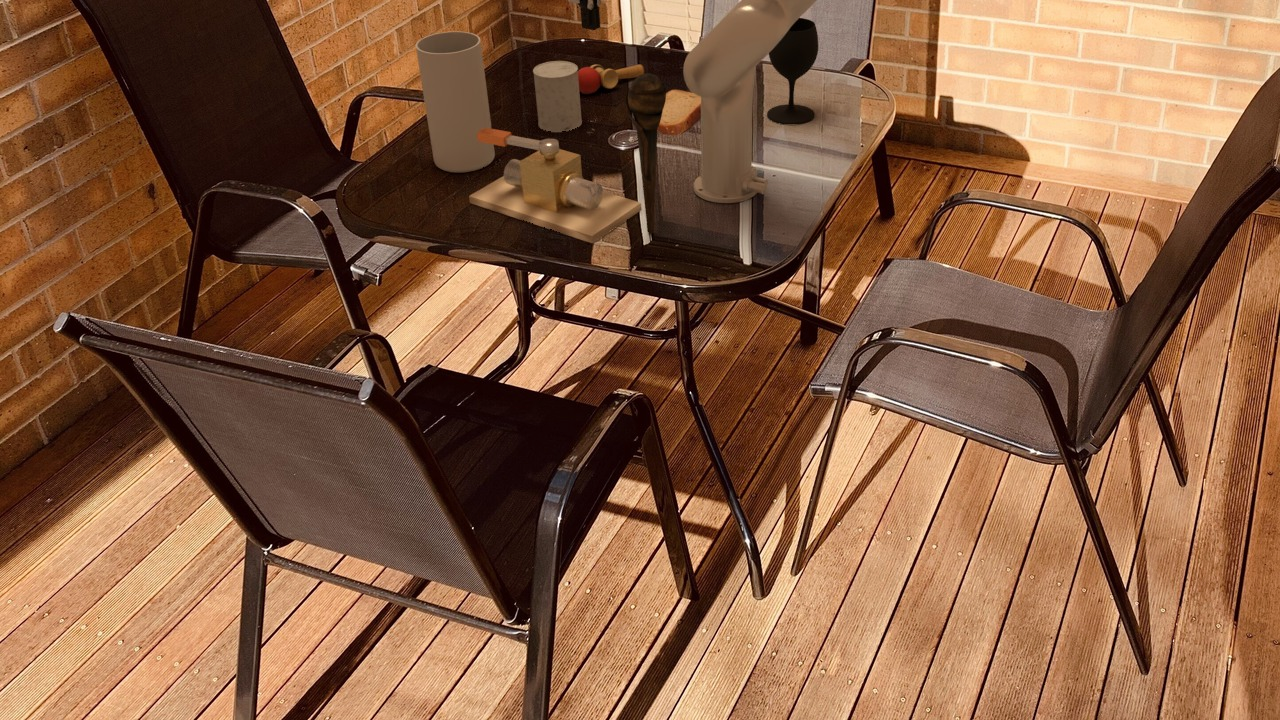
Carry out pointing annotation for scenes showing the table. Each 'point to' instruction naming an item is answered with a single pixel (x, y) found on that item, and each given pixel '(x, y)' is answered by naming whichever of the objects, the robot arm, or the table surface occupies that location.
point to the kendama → (604, 77)
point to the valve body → (553, 181)
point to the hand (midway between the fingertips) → (591, 27)
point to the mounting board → (565, 221)
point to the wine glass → (794, 68)
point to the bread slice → (679, 112)
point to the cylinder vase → (455, 99)
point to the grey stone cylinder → (557, 96)
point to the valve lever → (518, 141)
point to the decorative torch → (647, 132)
